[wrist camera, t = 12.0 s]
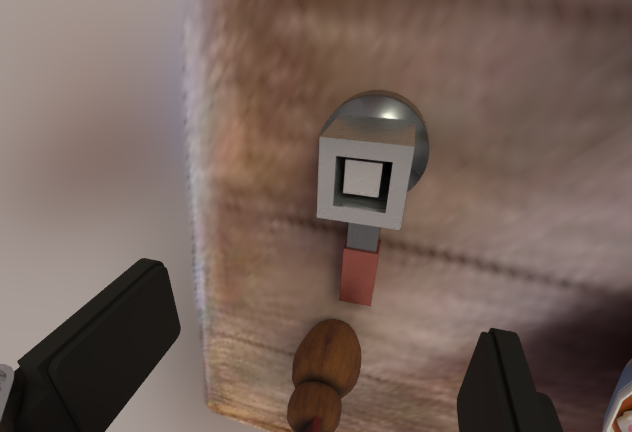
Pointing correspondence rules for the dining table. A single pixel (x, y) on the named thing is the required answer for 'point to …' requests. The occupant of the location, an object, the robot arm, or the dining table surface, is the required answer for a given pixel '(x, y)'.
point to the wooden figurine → (323, 376)
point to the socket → (373, 144)
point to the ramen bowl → (620, 404)
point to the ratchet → (373, 188)
